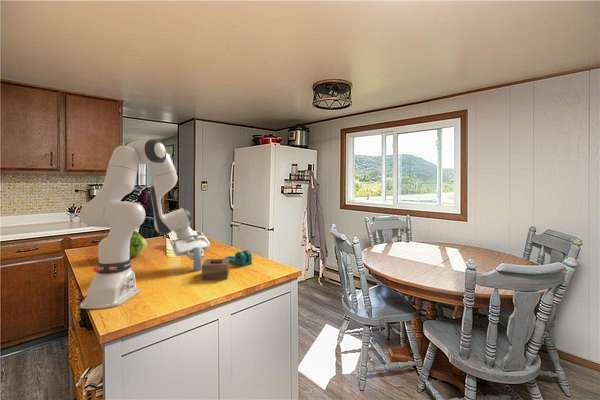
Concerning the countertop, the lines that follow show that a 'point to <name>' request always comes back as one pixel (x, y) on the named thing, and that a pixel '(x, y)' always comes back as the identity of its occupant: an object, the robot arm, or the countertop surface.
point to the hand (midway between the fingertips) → (198, 258)
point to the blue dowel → (197, 258)
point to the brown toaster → (215, 269)
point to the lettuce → (137, 244)
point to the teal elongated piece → (241, 258)
